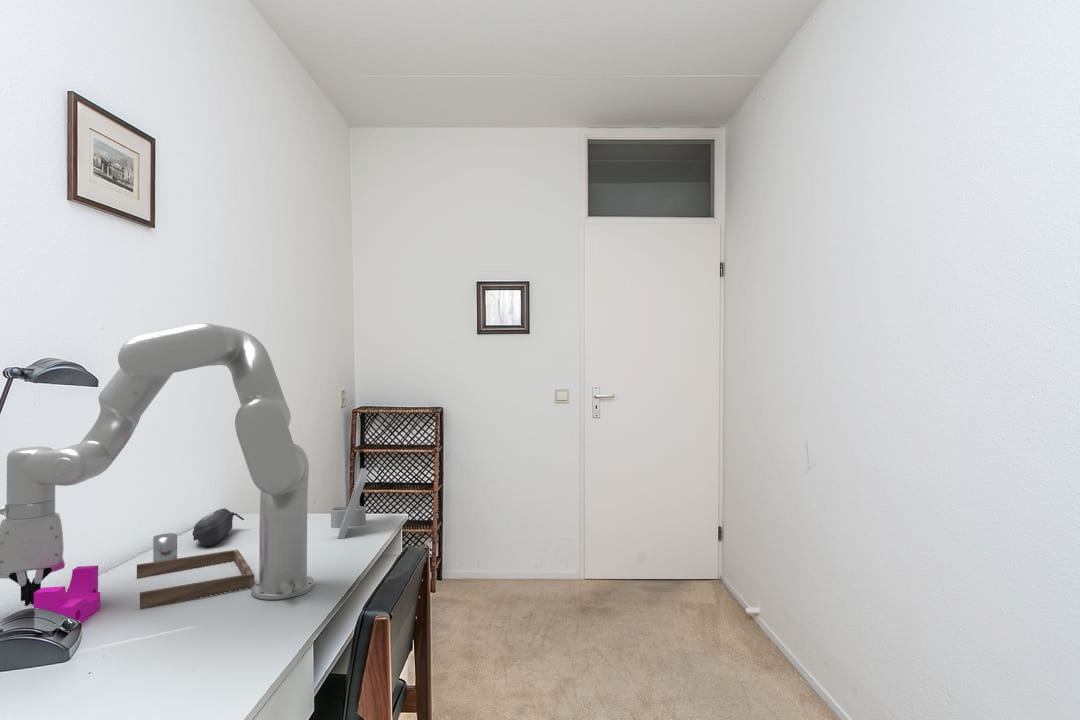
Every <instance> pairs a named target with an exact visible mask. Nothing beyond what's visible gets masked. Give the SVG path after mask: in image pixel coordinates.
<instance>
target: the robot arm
mask: <svg viewBox="0 0 1080 720" xmlns="http://www.w3.org/2000/svg"><path fill="white" fill-rule="evenodd" d="M117 362H118V365H119V369H118V370H117V371H116V372H115V373H114V375H113V376H112V377H111V379H110V380H109V381H108V383H107V384H106V385H105V386H104V387H103V389H102V390H101V391H100V393H99V395H98V404H99V408H100V410H99V411H100V412H99V415H98V417H97V419H96V421H95V423H94V424H93V425H92V427H91V428H90V429H89V431H88V432H87V433H86V435H85V436H84V438H83V439H82V440H81V441H80V443H78V444H73V445H70V446H65V447H61V448H57V449H53V448H51V447H49V446H28V447H27V446H25V447H21V448H15V449H12V450H11V451H9V452H8V454H7V457H6V504H4V506H1V507H0V515H2V516H4V517H5V518H4V519H2V520H1V521H0V579H9V580H12V581H13V582H15V583H16V584H17V585H18V586H20V602H23V601H24V606H25V607H28V606H29V605H31V606H34V592H36V591H38V590H39V589H41V588H42V581H43V580H44V579H45V578H47V577H48V575H50V574H51V573H54V572H57V571H60V570H63V569H64V568H65V566H66V562H65V560H64V534H63V526H62V525H63V524H62V519H61V516H60V513H58V512H56V486H62V487H63V486H64V487H65V486H66V487H68V486H75V485H78V484H80V483H81V484H82V483H83V482H86V481H87V480H90V479H92V478H95V477H97V476H99V475H101V474H102V473H104V472H105V471H107V469H108V468H109V467H110V466H111V465H112V464H113V463H114V461H115V460H116V459H117V458H118V456H119V455H120V453H121V452H122V450H124V448H125V447H126V445H127V444H128V442H129V441H130V439H131V437H132V435H133V434H134V432H135V430H136V428H137V426H138V425H139V422H140V421H141V420H140V419H141V417H142V415H143V414H144V413H145V411H146V410H147V409H148V408H149V406H150V405H151V403H152V402H153V400H154V399H155V398H156V396H158V394H159V393H160V392H161V390H162V388H163V387H164V386H165V385H166V383H167V382H168V381H169V379H170V378H171V377H172V375H173V374H174V373H180V372H184V371H188V370H192V369H198V368H203V367H208V366H209V367H210V366H212V367H213V366H225V367H227V369H228V370H229V372H230V374H231V378H232V382H233V386H234V388H235V389H234V390H235V391H236V394H237V396H238V397H237V398H238V400H239V404H240V407H239V408H238V410H237V412H236V414H235V416H234V417H235V419H234V428H235V432H236V436H237V437H236V438H237V439H238V442H239V445H240V449H241V453H242V455H243V457H244V460H245V462H246V463H245V464H246V466H247V469H248V472H249V474H250V475H249V476H250V478H251V480H252V482H253V484H254V485H255V486H256V488H257V489H258V490H260V497H259V553H258V554H259V559H258V561H259V562H258V563H259V573H258V574H259V579H258V580H259V581H257V582H256V583H254V585H253V586H252V588H250V590H251V595H252V597H254V598H257V599H260V600H268V601H269V600H270V601H271V600H275V601H276V600H285V599H290V598H291V599H292V598H295V597H299V596H302V595H304V594H307V593H309V592H310V591H312V590H313V589H314V587H315V579H314V578H313V577H312V576H308V494H309V493H308V491H309V475H310V474H309V473H310V472H309V471H310V469H309V467H310V465H309V464H310V463H309V459H308V456H307V455H308V454H306V452H305V450H304V449H303V448H302V447H301V446H300V445H298V444H296V443H294V439H293V437H292V434H291V432H290V428H289V426H290V424H291V417H292V416H291V412H290V411H291V410H290V408H289V406H288V403H287V401H286V399H285V395H284V392H283V390H282V387H281V384H280V381H279V379H278V376H277V373H276V370H275V368H274V366H273V365H274V364H273V362H272V359H271V357H270V355H269V353H268V350H267V349H266V347H265V346H264V345H263V344H262V342H261V341H260V340H259V339H258V338H257V337H255V336H254V335H252V334H251V333H248V332H246V331H244V330H241V329H237V328H234V327H233V328H232V327H230V326H224V325H218V324H214V323H205V322H204V323H196V324H192V325H186V326H182V327H177V328H172V329H167V330H162V331H157V332H151V333H147V334H142V335H137V336H134V337H132V338H130V339H128V340H126V341H125V342H124V343H123V345H122V346H121V347H120V349H119V351H118V355H117ZM34 570H35V575H34V577H33V578H32V581H30V578H29V576H28V572H29V571H34ZM27 571H28V572H27Z"/></svg>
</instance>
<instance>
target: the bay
mask: <svg viewBox="0 0 1080 720" xmlns="http://www.w3.org/2000/svg"><path fill="white" fill-rule="evenodd" d="M232 561H234V562H235V563H234V565H235V566H236V567H238V568H237V570H238V569H239V570H238V571H239V573H240V572H241V573H240V574H239V575H233V576H228V577H224V578H223V577H222V578H216V579H211V580H205V581H204V580H203V581H199V582H194V583H193V582H192V583H187V584H181V585H176V586H169V587H163V588H157V589H153V590H145V591H141V592H139V610H142V609H147V608H152V607H153V608H154V607H159V606H163V605H169V604H174V603H180V602H185V600H186V601H191V600H190V599H192V600H196V599H195V598H197V599H201V598H200V597H203V598H207V597H206V596H208V597H211V596H210V595H213V596H216V595H215V594H218V595H221V594H220V593H223V594H225V593H224V592H228V593H230V592H229V591H233V592H236V591H235V590H238V591H240V590H239V589H243V590H246V589H245V588H248V589H252V588H251V587H252V586H253V585H255V573H254V572H253V570H252V569H251V567H250V566H249V564H248V563H247V561H246V560H245V558H244V557H243V555H242V553H241V552H240V551H239V549H231V550H225V551H218V552H212V553H211V552H210V553H206V554H199V555H191V556H185V557H179V558H178V557H177V559H171V560H164V561H157V562H153V561H152V562H145V563H140V564H136V579H143V578H149V577H150V578H151V577H154V576H155V577H156V576H161V575H167V574H171V573H177V572H183V571H188V569H189V570H194V568H195V569H199V568H205V566H206V567H210V566H211V565H212V566H216V565H217V566H218V565H221V564H222V563H223V564H227V562H228V563H233V562H232ZM223 564H222V565H223ZM241 574H242V575H241Z"/></svg>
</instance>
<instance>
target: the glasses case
mask: <svg viewBox="0 0 1080 720" xmlns="http://www.w3.org/2000/svg"><path fill="white" fill-rule="evenodd" d="M234 516H236V517H238V519H240V520H242V521H244V520H245V518H243V517H242V516H241V515H239V514H238V513H236V512H232V511H230V510H229V509H227V508H220V509H217V510H216V511H213V512H211V513H208V514H207V515H206V516H204V517H202V518H201V519H199V521H198V522H196V523H195V524H194V526H193V531H192V533H191V535H192V537H193V541H194V542H195V541H198V542H199V543H200V544H201V546H203V547H204V546H205V548H206V547H210V546H213V545H215V544H217V543H218V542H219V541H221V540H222V538H224V537H226V535H227V534H228V533H229V532H230V531H232V529H233V521H234V520H233V519H234Z"/></svg>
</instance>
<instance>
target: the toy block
mask: <svg viewBox="0 0 1080 720" xmlns="http://www.w3.org/2000/svg"><path fill="white" fill-rule="evenodd" d="M71 570H72V572H71V577H70V578H71V579H70V582H69V585H68V588H67V590H66V586H47V587H45V586H43V587H41V589H39V590H38V591H36V592H34V605H33V609H34V608H39V609H45V610H49V611H52V612H55V613H58V614H62V615H65V616H69V617H70V618H73V619H76V620H78V621H80V622H81V624H83V623H84V622H85V621H87V620H88V619H90V617H92V616H93V615H94V614H96V613H97V612H99V610H100V609H101V592H100V591H99V565H83V566H82V565H81V566H79V565H78V566H76V567H75V568H73V569H71Z"/></svg>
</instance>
